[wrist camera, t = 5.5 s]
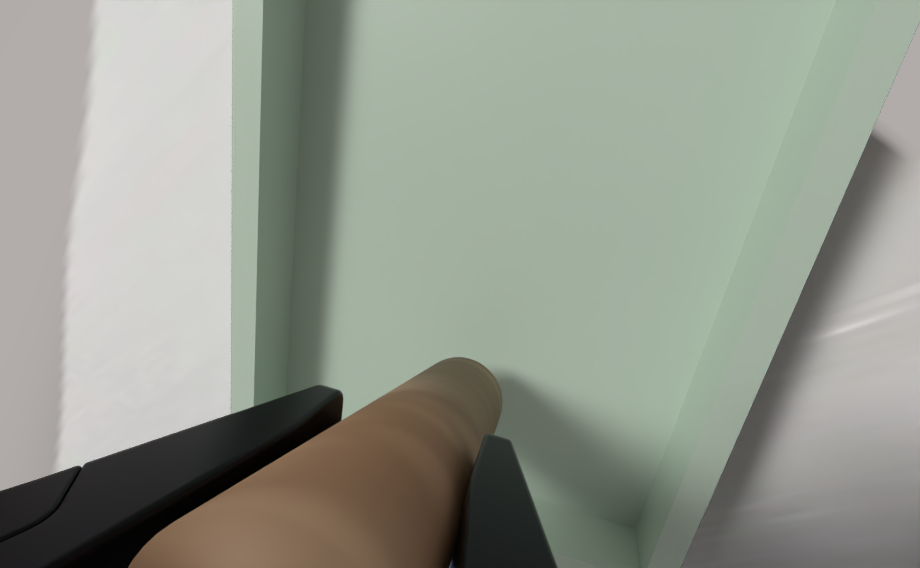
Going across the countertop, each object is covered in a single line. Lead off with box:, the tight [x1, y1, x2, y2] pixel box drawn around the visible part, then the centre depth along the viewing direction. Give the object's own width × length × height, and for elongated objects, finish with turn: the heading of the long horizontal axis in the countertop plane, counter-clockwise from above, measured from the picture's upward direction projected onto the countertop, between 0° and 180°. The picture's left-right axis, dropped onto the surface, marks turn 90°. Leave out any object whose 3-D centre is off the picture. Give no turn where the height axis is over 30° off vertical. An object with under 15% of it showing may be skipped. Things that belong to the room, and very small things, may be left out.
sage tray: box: [231, 0, 920, 568], centre depth 13 cm, size 14×22×2 cm, turn 170°
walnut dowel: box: [128, 357, 503, 568], centre depth 9 cm, size 2×6×10 cm, turn 170°
